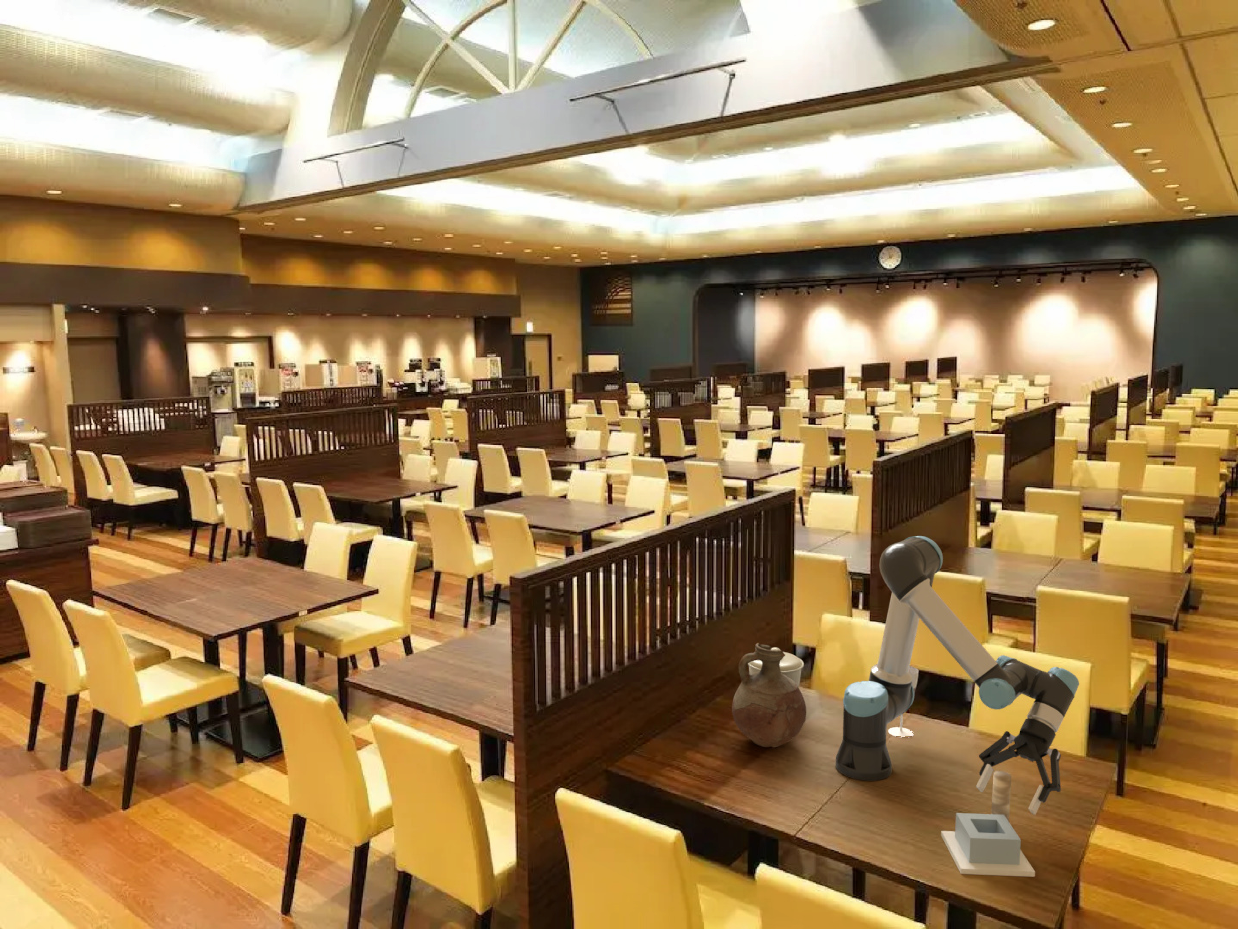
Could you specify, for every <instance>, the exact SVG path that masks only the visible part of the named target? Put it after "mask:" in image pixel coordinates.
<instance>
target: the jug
mask: <svg viewBox="0 0 1238 929" xmlns="http://www.w3.org/2000/svg"><path fill="white" fill-rule="evenodd" d="M754 646H755V648H754V649H755V650H754V652H750V653H745V654H744V655H743V656H742V657H741V659H740V660H739V663H738V673H739V677H740V681H741V683H740V684H739V686H738V688H737V689H736V691H735V694H734V696H733V700H732V704H731V714H732V716H733V720H734V722H735V725H736V726H737V729H739V731H740V732H741V733H742V734H743V735H745V736H746V737H747V738H748V739H750V740H751V741H752V743H754V744H755V745H757V746H760V747H762V748H769V747H772V748H778V747H780V746H784V744H786V743H788V742H790V741H791V740H793V739H794V738H796V736H798V734H799V733H800V732H801V730H802V728H803V727H804V724H805V722H806V718H807V706H806V701H805V698H804V695H803V693H802V691H801V690H800V686H799V687H798V685H797V683H796V682H794V681H793V680H792V679H790V678H789V677H787V676H786V675H784V674H782V673H781V670H780V661H781V660H782V659H783V657H784V656H785V654H784V653H783V652H784V651H783V650H781V649H780V651H774V650H771V648H772V647H771V646H770V645H767V644H760V642H757V643H756V644H755V645H754ZM755 660H760V661H762V667H761V670H760V671H759V672H756V673H753V674H751V675H750V674H749V671H748V669H747V666H748V663H749V662H751V661H755Z"/></svg>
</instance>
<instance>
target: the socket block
mask: <svg viewBox="0 0 1238 929" xmlns="http://www.w3.org/2000/svg"><path fill="white" fill-rule="evenodd" d="M940 833H941V834H940V837H941V838H942V840H943V841H944V842H943V843H944V844H945V846H946V848H947V850H948V852H949V853H950V855H951V857H952V860H953V861H954V864H955V865H956V867H957V869H958V871H959V873H960V875H978V876H979V875H980V876H981V875H983V876H1002V877H1003V876H1007V877H1009V876H1010V877H1036V871H1035V870H1034V868H1033V867H1032V865H1031V863H1030V862H1029V861H1028V859H1027V857H1026V856H1025V854H1024V853H1023V851H1022V850H1021V846H1022V845H1021V844H1022V840H1021V838H1020V836H1019V835H1018V833H1017V832H1016V830H1015V829H1014V828H1013V826H1012V825H1011V823H1010V821H1009V822H1008V820H1007V819H1006V817H1005V816H1004V815H1000V814H991V813H989V814H988V813H967V812H966V813H965V812H955V829H954V831H953V830H952V831H951V830H941V831H940Z"/></svg>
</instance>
